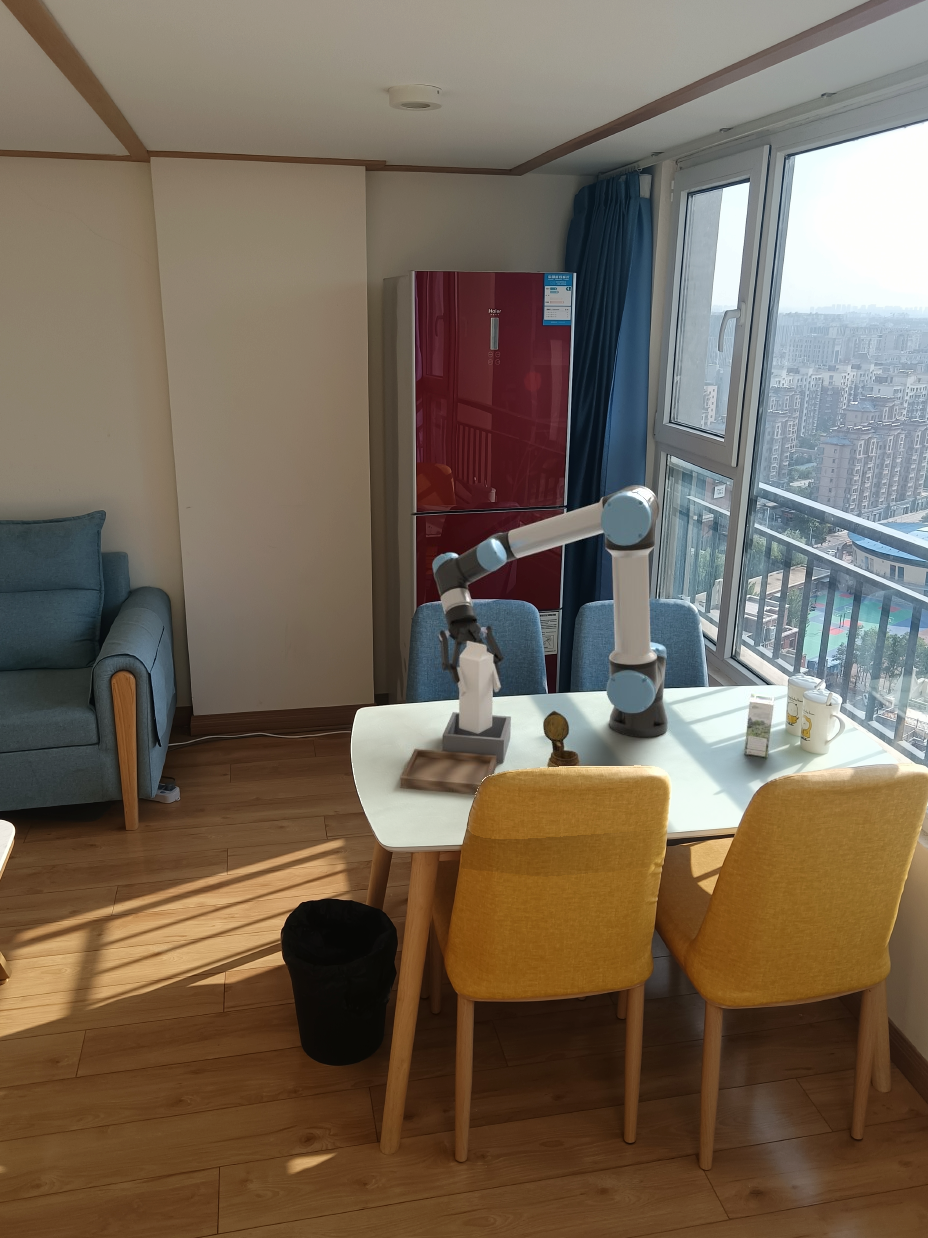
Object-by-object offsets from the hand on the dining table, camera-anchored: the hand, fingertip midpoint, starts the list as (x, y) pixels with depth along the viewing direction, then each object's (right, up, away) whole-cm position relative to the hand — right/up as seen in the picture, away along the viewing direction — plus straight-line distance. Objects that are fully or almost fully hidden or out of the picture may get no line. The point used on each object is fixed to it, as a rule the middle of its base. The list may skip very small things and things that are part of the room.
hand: (480, 691), depth 237 cm
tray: (-7, -19, -8) cm, 22 cm away
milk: (-1, -9, +6) cm, 11 cm away
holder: (-1, -15, +7) cm, 16 cm away
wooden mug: (+17, -22, -16) cm, 33 cm away
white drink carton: (+69, -16, +8) cm, 71 cm away
